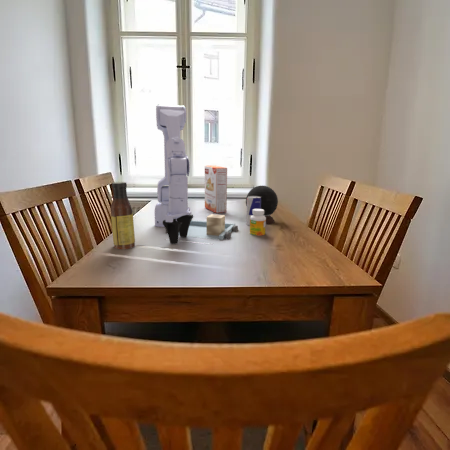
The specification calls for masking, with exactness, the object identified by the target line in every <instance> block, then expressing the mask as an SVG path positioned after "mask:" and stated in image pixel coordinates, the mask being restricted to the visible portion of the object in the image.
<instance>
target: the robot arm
mask: <svg viewBox="0 0 450 450" xmlns="http://www.w3.org/2000/svg"><path fill="white" fill-rule="evenodd" d="M155 120H156V127H157V130H159V131H161V132H162V134H163V143H164V144H163V146H164V147H163V149H164V156H163V157H164V176H163V178H161V179H160V180H158V182H157V190H156V191H157V202H158V203H156V204H155V205H154V227H159V228H160V227H161V228H162V227H163V228H165V231H166V230H167V233H166V234H167V235H168V239H169V240H168V241H169V243H170V244H175V245H176V244H177V245H178V242H179V241H178V240H179V237H180V238H187V234H188V229H189V225H190V222H191V220H193V219H194V214H192V211H191V207H188V205H189V203H188V199H189V198H188V197H189V195H188V194H189V187H188V183H189V181H188V177H189V176H190V168H191V167H190V164H191V163H190V159H189V156H188V154H187V152H186V151H187V150H186V144H185V141H184V140H183V139H182V138H181V131H183V130H184V127H185V124H186V122H187V108H186V107H185V105H174V104H173V105H170V104H169V105H168V104H157V105H156V106H155ZM179 234H180V236H179Z"/></svg>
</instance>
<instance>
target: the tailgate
mask: <svg viewBox="0 0 450 450" xmlns="http://www.w3.org/2000/svg"><path fill="white" fill-rule="evenodd" d="M164 240H165V241H170V240H169V238H165V239H164ZM178 242H182V243H195V244H202V245H203V244H204V245H214V243H211V242H210V243H208V242H198V241H190V240H189V241H188V240H179V239H178Z"/></svg>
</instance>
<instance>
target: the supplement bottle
mask: <svg viewBox="0 0 450 450" xmlns="http://www.w3.org/2000/svg"><path fill="white" fill-rule="evenodd" d="M252 214H253V215H252V216H251V217H250V226H249V234H250V235H251V236H259V237H260V236H264V235H266V225H267V224H266V217H265V216H263V214H264V210H263V209H253V211H252Z"/></svg>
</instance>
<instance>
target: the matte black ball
mask: <svg viewBox="0 0 450 450" xmlns="http://www.w3.org/2000/svg"><path fill="white" fill-rule="evenodd" d="M248 196H259V197H261V209H263V210H264V214H263V216H265V217H266V225H272V224H275V219H274V217H273V216H271V215H273V214H274V213H275V212H276V210H277V208H278V205H279V198H278V195H277V193H276V191H275V190H274V189H272V187H269V186H267V185H256V186H254V187H253V188H251V189H250V190H249V191H248V193H247V194H246V198H245V205H246V207H247V198H248Z"/></svg>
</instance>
